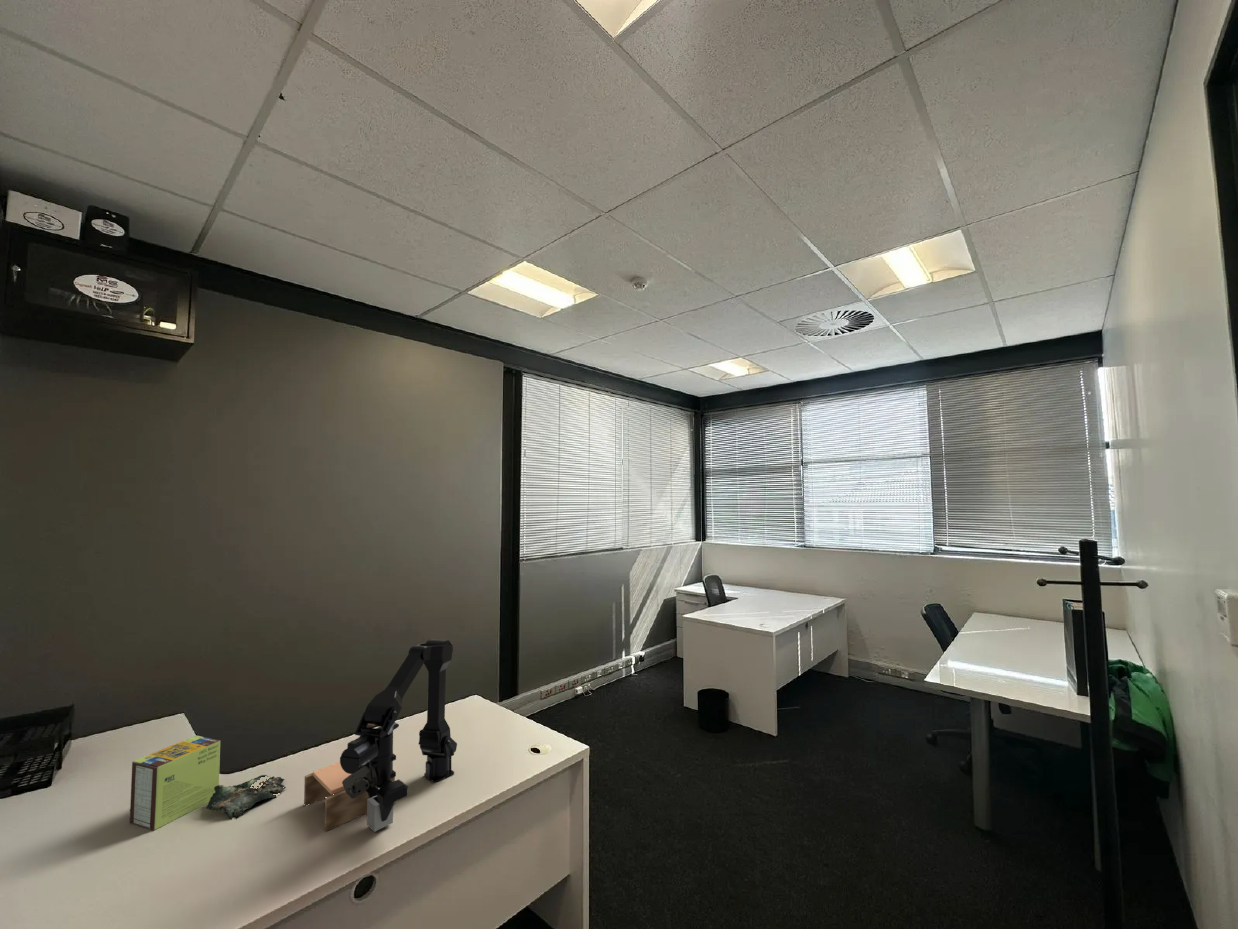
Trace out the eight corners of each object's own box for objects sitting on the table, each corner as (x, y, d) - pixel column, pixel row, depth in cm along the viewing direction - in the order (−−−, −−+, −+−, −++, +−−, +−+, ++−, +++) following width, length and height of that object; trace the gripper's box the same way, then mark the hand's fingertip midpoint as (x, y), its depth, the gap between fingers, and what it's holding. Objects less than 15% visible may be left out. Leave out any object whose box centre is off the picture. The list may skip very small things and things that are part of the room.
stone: (385, 815, 130) (385, 791, 131) (392, 822, 127) (393, 798, 128) (366, 824, 127) (367, 799, 127) (374, 831, 124) (374, 806, 124)
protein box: (219, 797, 142) (221, 739, 143) (153, 831, 127) (156, 767, 128) (194, 790, 145) (196, 734, 146) (127, 823, 130) (130, 761, 132)
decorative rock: (254, 764, 152) (300, 762, 150) (253, 786, 151) (300, 785, 149) (194, 797, 133) (246, 795, 131) (193, 822, 132) (245, 821, 131)
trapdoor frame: (368, 777, 150) (368, 747, 151) (395, 801, 138) (395, 768, 139) (303, 803, 138) (304, 771, 138) (327, 832, 125) (327, 796, 126)
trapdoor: (370, 766, 149) (370, 750, 149) (391, 783, 140) (391, 766, 140) (312, 789, 138) (312, 771, 138) (331, 809, 128) (331, 790, 128)
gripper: (332, 753, 129) (331, 817, 128) (362, 779, 116) (361, 850, 115) (377, 737, 137) (376, 797, 136) (409, 760, 124) (409, 826, 123)
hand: (379, 816), depth 127 cm, fingers closed on stone, 4 cm apart
